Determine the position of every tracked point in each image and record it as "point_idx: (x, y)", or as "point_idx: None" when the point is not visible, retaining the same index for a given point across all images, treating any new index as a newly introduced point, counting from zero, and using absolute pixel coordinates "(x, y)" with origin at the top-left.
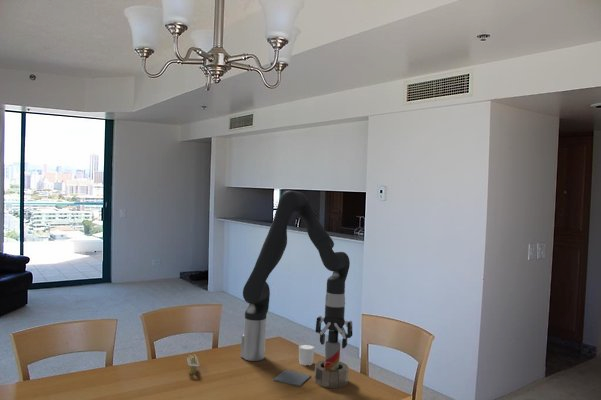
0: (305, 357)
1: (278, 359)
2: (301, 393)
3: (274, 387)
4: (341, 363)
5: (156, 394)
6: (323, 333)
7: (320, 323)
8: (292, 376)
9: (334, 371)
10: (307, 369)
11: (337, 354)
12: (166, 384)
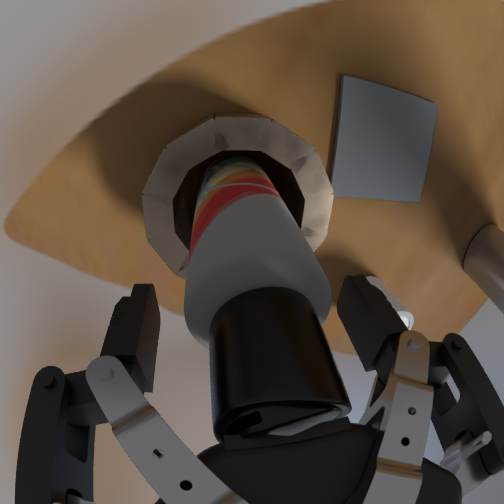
0: None
1: (434, 273)
2: (309, 13)
3: (413, 44)
4: None
5: None
6: (388, 361)
7: (453, 432)
8: (391, 151)
9: (192, 140)
10: (352, 251)
11: (193, 237)
12: None
